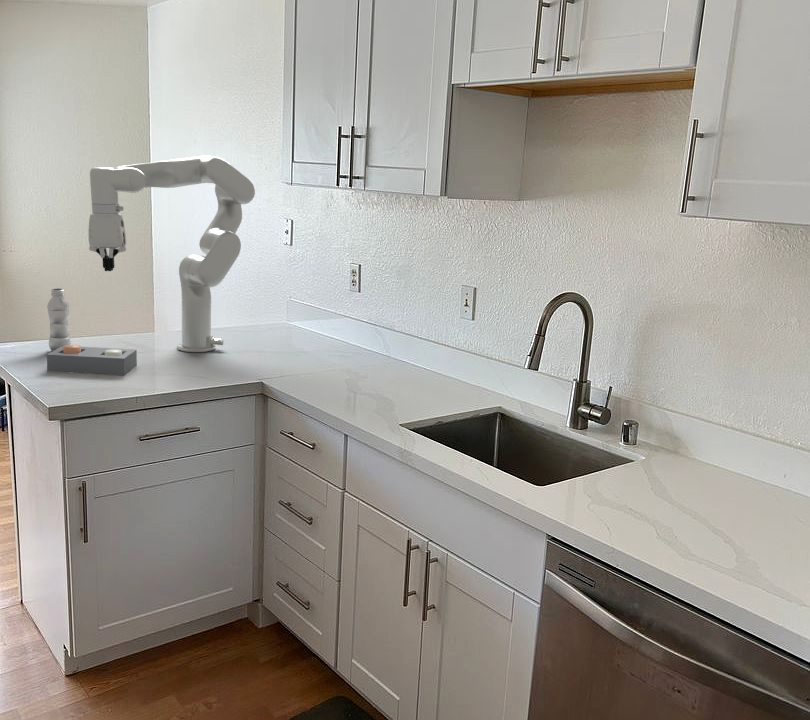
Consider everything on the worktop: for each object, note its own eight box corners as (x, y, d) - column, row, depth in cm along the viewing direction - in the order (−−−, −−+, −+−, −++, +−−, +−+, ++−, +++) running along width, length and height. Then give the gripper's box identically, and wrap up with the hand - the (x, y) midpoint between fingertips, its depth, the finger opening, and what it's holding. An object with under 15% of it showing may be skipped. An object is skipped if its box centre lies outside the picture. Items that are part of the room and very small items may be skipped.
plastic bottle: (75, 350, 255) (73, 288, 251) (64, 354, 249) (61, 291, 244) (56, 348, 256) (53, 287, 251) (44, 352, 249) (42, 290, 245)
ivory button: (124, 366, 237) (124, 349, 236) (119, 370, 233) (118, 353, 231) (108, 365, 237) (107, 349, 236) (102, 369, 232) (102, 352, 231)
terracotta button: (83, 361, 237) (83, 345, 235) (77, 365, 232) (77, 348, 231) (67, 360, 236) (66, 344, 235) (61, 364, 232) (60, 347, 231)
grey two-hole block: (136, 365, 241) (136, 349, 240) (124, 375, 229) (124, 358, 228) (63, 361, 240) (62, 345, 239) (47, 371, 228) (46, 354, 227)
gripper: (134, 209, 241) (137, 269, 246) (84, 208, 241) (88, 268, 245) (127, 211, 234) (130, 273, 239) (75, 209, 233) (79, 271, 238)
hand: (108, 270), depth 242 cm, fingers closed
